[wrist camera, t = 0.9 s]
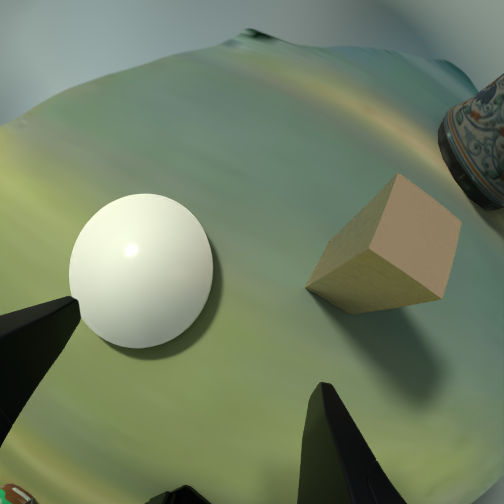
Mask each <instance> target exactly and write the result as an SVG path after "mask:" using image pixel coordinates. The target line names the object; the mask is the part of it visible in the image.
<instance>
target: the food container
mask: <svg viewBox="0 0 504 504" xmlns="http://www.w3.org/2000/svg"><path fill="white" fill-rule="evenodd" d="M33 499H34V497H33V496H31V495H30V494H29V493H28V492H27V491H25V490H24V489H22V488H21V487H19V486H17V485H14V484H7V485H4V486H2V487H0V504H32V503H33Z"/></svg>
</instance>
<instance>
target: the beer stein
mask: <svg viewBox="0 0 504 504" xmlns="http://www.w3.org/2000/svg"><path fill="white" fill-rule="evenodd" d="M438 144H439V147H440V151H441V154H442V158H443V160H444V161H445V163H446V165H447V167H448V169H449V171H450V172H451V174H452V176H453V178H454V180H455V181H456V182H457V183H458V184H459V186H460V187H461V188H462V189H463V191H464V192H465V193H466V195H467V196H468V197H469V198H470V199H471V200H473V201H474V202H475V203H477V204H478V205H479V206H480V207H482V208H483V209H484V210H486V211H488V210H494V209H500V208H502V207H504V74H502V75H501V76H500V77H499V78H497V79H496V80H495V81H493V82H492V83H491V84H490V85H488V86H487V87H486V88H484V89H483V90H482V91H480V92H479V93H478V94H476V95H475V96H473V97H472V98H470V99H469V100H467V101H466V102H464V103H462V104H459V105H456V106H453V107H452V108H450V109H449V110H448V111H447V113H446V115H445V117H444V119H443V121H442V123H441V125H440V127H439V130H438Z"/></svg>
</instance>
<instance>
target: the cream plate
mask: <svg viewBox="0 0 504 504" xmlns="http://www.w3.org/2000/svg"><path fill="white" fill-rule="evenodd" d="M213 270H214V269H213V257H212V252H211V248H210V245H209V242H208V239H207V236H206V234H205V232H204V230H203V228H202V226H201V225H200V223H199V222H198V220H197V219H196V218H195V217H194V216H193V215H192V213H191V212H190V211H188V210H187V209H186V208H185V207H184V206H182V205H181V204H179V203H177V202H176V201H174V200H171V199H169V198H167V197H163V196H160V195H154V194H136V195H130V196H126V197H123V198H120V199H118V200H115V201H113V202H111V203H110V204H108V205H106V206H105V207H103V208H102V209H101V210H99V211H98V212H97V213H96V214H95V215H94V216H93V217H92V218H91V219H90V220H89V221H88V223H87V224H86V225H85V227H84V228H83V230H82V231H81V233H80V235H79V237H78V238H77V241H76V243H75V246H74V248H73V252H72V255H71V260H70V267H69V281H70V289H71V294H72V297H73V298H75V299H77V300H78V301H79V306H80V314H81V317H82V319H83V320H84V322H85V323H86V324H87V325H88V326H89V328H90V329H92V330H93V331H94V332H95V333H96V334H97V335H99V336H100V337H102V338H103V339H105V340H106V341H109V342H111V343H113V344H116V345H119V346H122V347H128V348H146V347H153V346H157V345H160V344H163V343H166V342H168V341H170V340H172V339H174V338H176V337H177V336H179V335H180V334H182V333H183V332H184V331H186V330H187V329H188V328H189V327H190V326H191V325H192V324H193V323H194V321H195V320H196V319H197V318H198V316H199V315H200V313H201V312H202V310H203V308H204V306H205V304H206V302H207V300H208V297H209V294H210V291H211V287H212V282H213Z"/></svg>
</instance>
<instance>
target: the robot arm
mask: <svg viewBox="0 0 504 504" xmlns="http://www.w3.org/2000/svg"><path fill="white" fill-rule="evenodd" d="M80 319H81V314H80V306H79V301H78V300H77V299H75V298H73V297H71V296H66V297H63V298H59V299H56V300H52V301H49V302H45V303H42V304H39V305H35V306H32V307H28V308H25V309H21V310H18V311H14V312H11V313H7V314H4V315H0V447H1V445H2V443H3V441H4V440H5V438H6V436H7V434H8V433H9V431H10V429H11V428H12V425H13V424H14V422H15V421H16V419H17V417H18V416H19V414H20V412H21V411H22V409H23V408H24V406H25V404H26V403H27V401H28V400H29V398H30V397H31V395H32V394H33V392H34V391H35V389H36V388H37V386H38V385H39V383H40V382H41V380H42V379H43V377H44V376H45V375H46V373H47V372H48V370H49V369H50V367H51V366H52V365H53V363H54V362H55V360H56V359H57V358H58V356H59V355H60V353H61V352H62V350H63V349H64V347H65V346H66V344H67V342H68V340H69V339H70V337H71V335H72V334H73V332H74V330H75V329H76V327H77V326H78V324H79V322H80ZM184 489H187V490H188V491H186V490H184ZM145 504H210V503H209V502H208V501H206V500H205V499H204V498H203V497H201V496H200V495H199V494H198V493H197V492H196V491H194V490H193V489H192V488H191V487H190V486H188V485H184V486H181V487H179V488H177V489H175V490H173V491H171V492H169V491H166V492H164V493H162V494H160V495H158V496H155V497H153V498H151V499H150V500H149V502H147V503H145ZM297 504H407V503H406V502H405V500H404V499H403V498H402V497H401V495H400V494H399V493H398V491H397V490H396V489H395V487H394V486H393V485H392V483H391V482H390V480H389V479H388V477H387V476H386V474H385V473H384V471H383V470H382V468H381V466H380V465H379V463H378V461H376V458H375V456H374V455H373V453H372V451H371V449H370V448H369V446H368V444H367V443H366V441H365V439H364V438H363V436H362V434H361V433H360V431H359V429H358V427H357V426H356V424H355V422H354V421H353V419H352V417H351V416H350V414H349V412H348V411H347V409H346V407H345V405H344V404H343V402H342V400H341V399H340V397H339V395H338V394H337V392H336V390H335V389H334V387H333V385H332V384H330V383H325V382H320V383H319V384H318V385H317V387H316V388H315V390H314V392H313V393H312V395H311V396H310V399H309V403H308V409H307V415H306V421H305V427H304V432H303V438H302V451H301V465H300V478H299V490H298V500H297Z"/></svg>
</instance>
